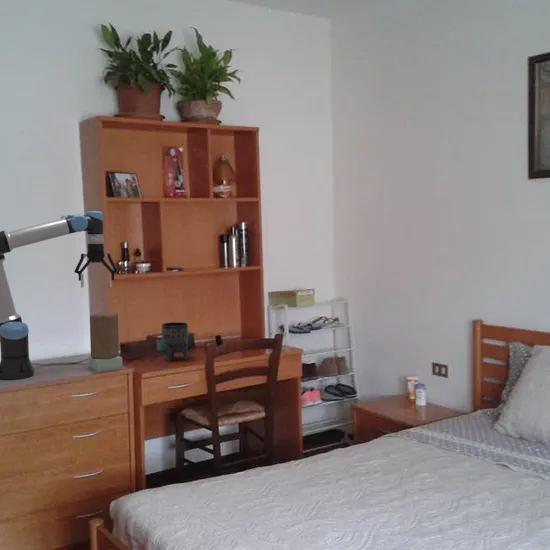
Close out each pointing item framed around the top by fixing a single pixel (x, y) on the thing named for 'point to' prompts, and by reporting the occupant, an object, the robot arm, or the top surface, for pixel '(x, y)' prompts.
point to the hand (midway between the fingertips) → (96, 287)
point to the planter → (175, 338)
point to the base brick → (105, 363)
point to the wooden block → (104, 335)
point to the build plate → (102, 371)
